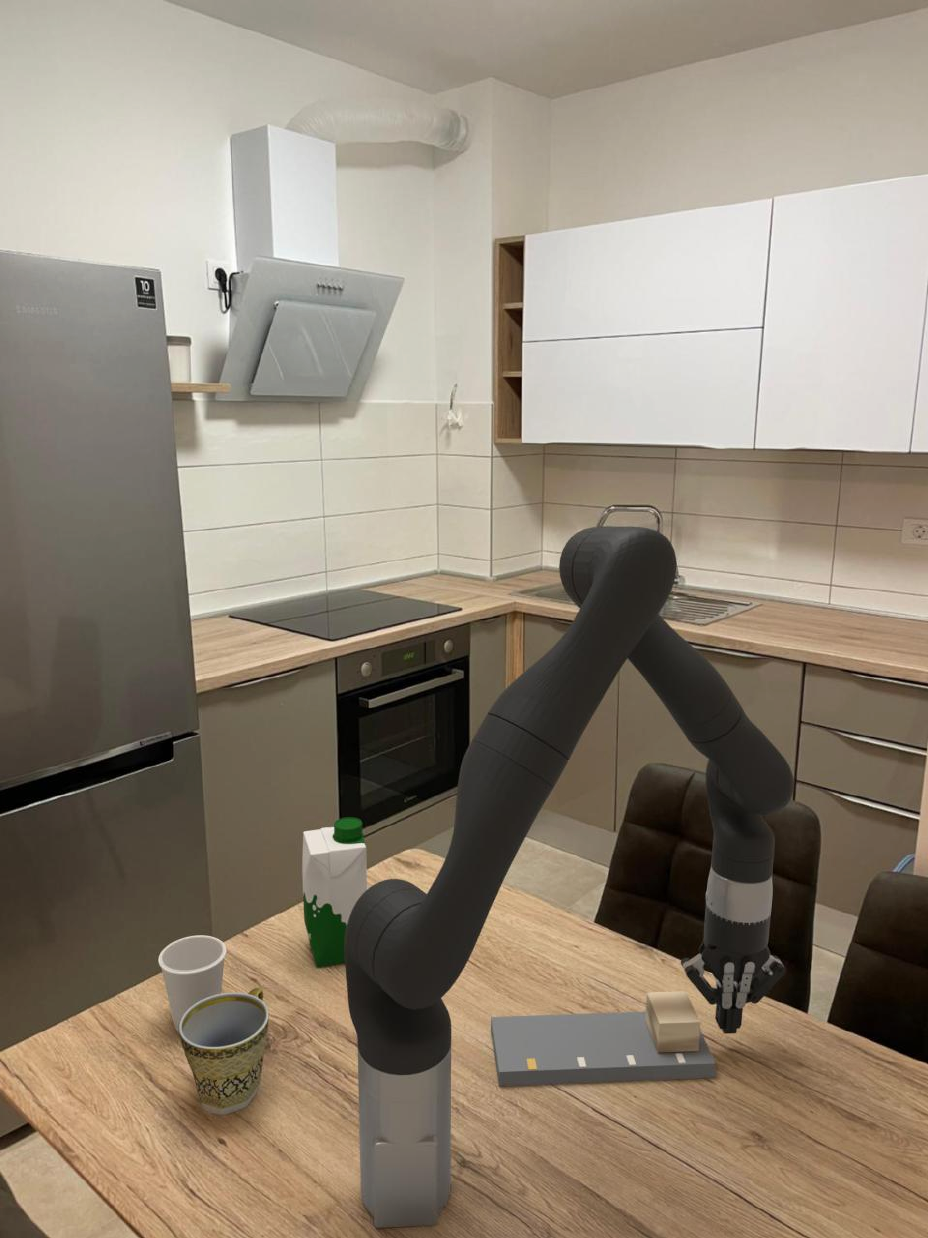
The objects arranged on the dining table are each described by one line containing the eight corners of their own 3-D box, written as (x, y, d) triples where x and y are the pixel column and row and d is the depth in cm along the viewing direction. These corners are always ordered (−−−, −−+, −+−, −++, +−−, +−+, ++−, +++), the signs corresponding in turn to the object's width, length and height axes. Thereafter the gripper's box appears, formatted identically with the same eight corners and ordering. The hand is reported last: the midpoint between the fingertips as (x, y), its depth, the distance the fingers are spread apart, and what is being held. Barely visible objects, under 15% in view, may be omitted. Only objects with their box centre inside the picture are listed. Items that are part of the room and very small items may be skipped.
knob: (698, 1051, 112) (700, 1022, 111) (657, 1052, 112) (659, 1023, 111) (683, 1019, 118) (685, 991, 117) (645, 1020, 118) (646, 992, 117)
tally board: (714, 1077, 111) (715, 1062, 110) (498, 1086, 109) (499, 1071, 109) (689, 1023, 121) (690, 1009, 120) (490, 1030, 119) (491, 1016, 118)
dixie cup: (168, 1050, 115) (163, 979, 113) (159, 1011, 122) (153, 943, 120) (236, 1031, 119) (232, 962, 116) (223, 994, 126) (219, 928, 124)
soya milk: (373, 962, 133) (370, 834, 129) (310, 973, 131) (305, 843, 126) (361, 930, 141) (358, 808, 137) (301, 939, 139) (297, 816, 134)
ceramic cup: (242, 1136, 102) (237, 1057, 99) (165, 1113, 105) (159, 1036, 103) (300, 1059, 114) (297, 987, 111) (229, 1041, 117) (225, 970, 114)
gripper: (693, 922, 107) (684, 1052, 111) (805, 919, 108) (791, 1048, 112) (675, 889, 115) (667, 1012, 118) (779, 886, 115) (768, 1008, 119)
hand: (727, 1029), depth 115 cm, fingers closed
